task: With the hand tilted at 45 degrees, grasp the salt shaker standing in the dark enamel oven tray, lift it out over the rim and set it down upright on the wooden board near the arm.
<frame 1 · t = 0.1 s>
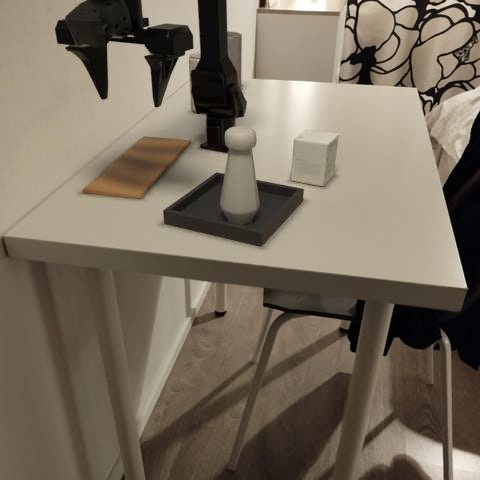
hand: (130, 102, 74), 15 cm above the table, tool pointing down, fingers open, 9 cm apart
oven tray: (236, 211, 79), on the table
product box: (312, 179, 90), on the table
salt shaker: (239, 219, 76), resting on oven tray
wooden board: (142, 165, 95), on the table
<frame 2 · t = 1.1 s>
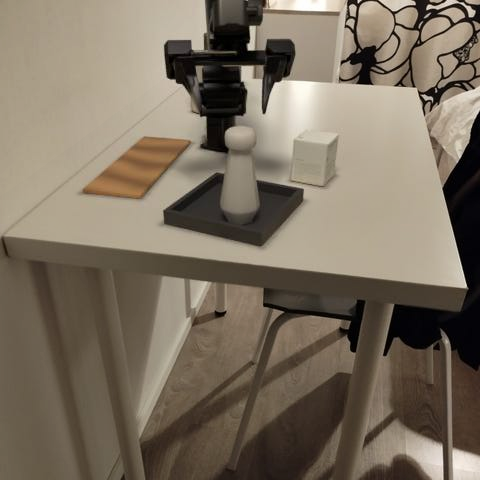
hand: (232, 113, 75), 13 cm above the table, tool tilted 45°, fingers open, 9 cm apart
nothing on the table moved.
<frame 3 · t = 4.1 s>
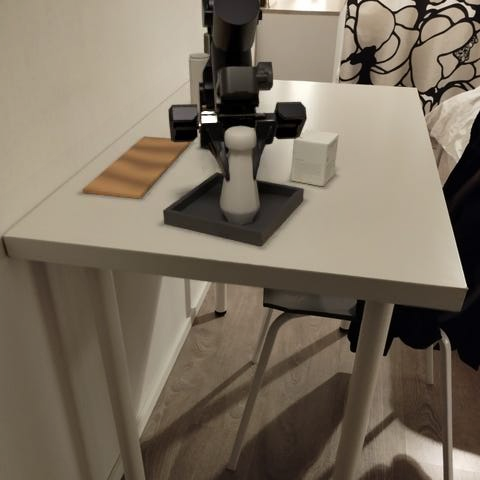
hand: (241, 180, 71), 7 cm above the table, tool tilted 45°, fingers closed on salt shaker, 3 cm apart
salt shaker: (239, 219, 76), resting on oven tray, touching gripper
everything else where it was.
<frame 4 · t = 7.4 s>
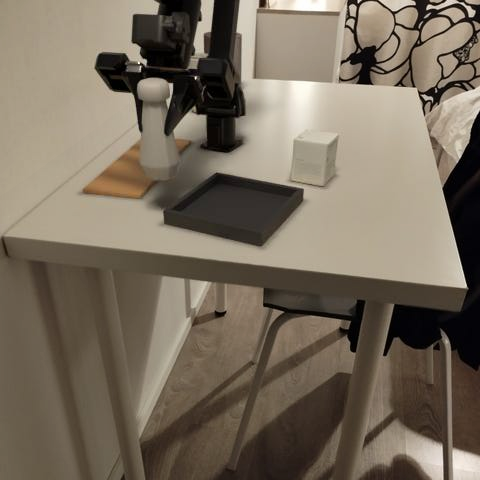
hand: (153, 133, 71), 12 cm above the table, tool tilted 45°, fingers closed on salt shaker, 3 cm apart
salt shaker: (161, 176, 76), point 6 cm above the table, touching gripper
everything else where it was.
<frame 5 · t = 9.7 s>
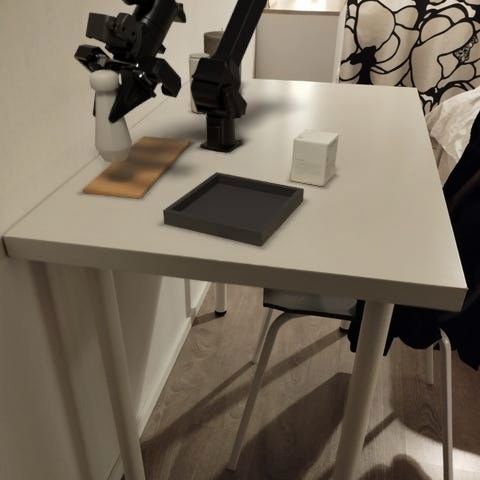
hand: (102, 119, 79), 11 cm above the table, tool tilted 45°, fingers closed on salt shaker, 3 cm apart
salt shaker: (115, 159, 84), point 5 cm above the table, touching gripper
everything else where it was.
when the fingers open (7 cm above the table, at t = 11.2 s): salt shaker stays where it is, resting on wooden board.
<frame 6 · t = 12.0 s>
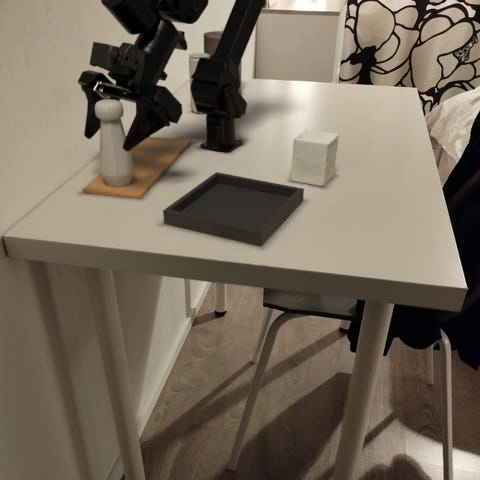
hand: (105, 143, 81), 8 cm above the table, tool tilted 45°, fingers open, 9 cm apart
salt shaker: (119, 183, 87), resting on wooden board
everything else where it was.
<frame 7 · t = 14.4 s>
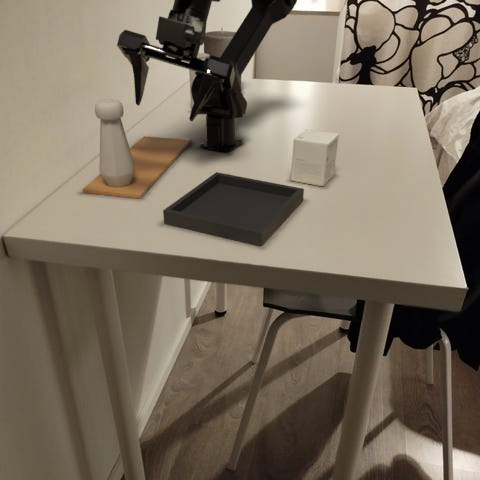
hand: (164, 112, 86), 10 cm above the table, tool tilted 35°, fingers open, 9 cm apart
nothing on the table moved.
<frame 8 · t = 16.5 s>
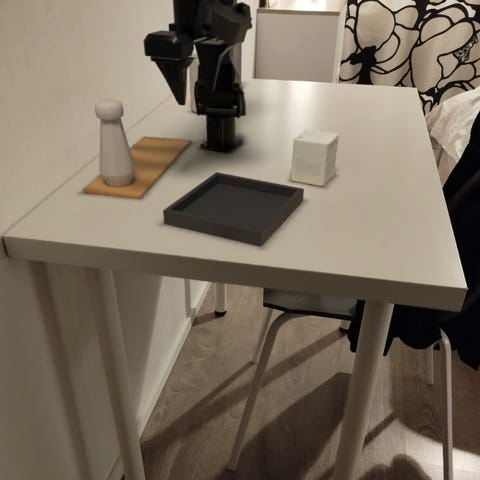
hand: (196, 98, 83), 13 cm above the table, tool pointing down, fingers open, 9 cm apart
nothing on the table moved.
at the end: salt shaker inside the target area on the wooden board (0.2 cm from its centre), point 0.4 cm above the wooden board's base; salt shaker tilted 0°; the gripper is holding nothing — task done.
